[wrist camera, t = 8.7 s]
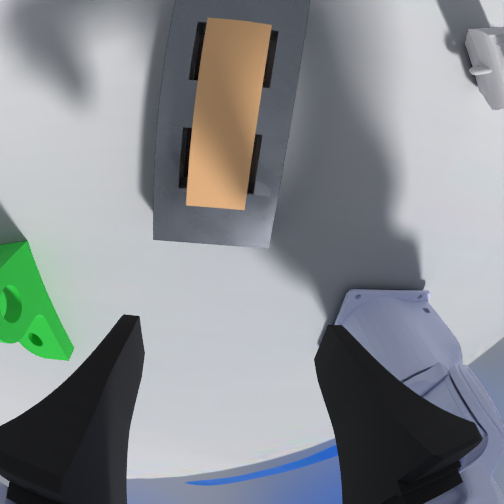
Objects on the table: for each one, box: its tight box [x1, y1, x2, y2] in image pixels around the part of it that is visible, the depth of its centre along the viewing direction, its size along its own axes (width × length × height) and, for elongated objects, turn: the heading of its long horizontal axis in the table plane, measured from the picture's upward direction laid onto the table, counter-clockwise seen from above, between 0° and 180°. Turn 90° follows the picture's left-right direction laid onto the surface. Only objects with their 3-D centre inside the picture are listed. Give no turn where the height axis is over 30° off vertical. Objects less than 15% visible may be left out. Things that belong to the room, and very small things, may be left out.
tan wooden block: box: [186, 18, 272, 210], centre depth 14 cm, size 3×9×5 cm, turn 172°
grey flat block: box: [153, 0, 310, 249], centre depth 15 cm, size 7×16×2 cm, turn 172°
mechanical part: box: [0, 241, 74, 361], centre depth 18 cm, size 12×6×8 cm, turn 1°
